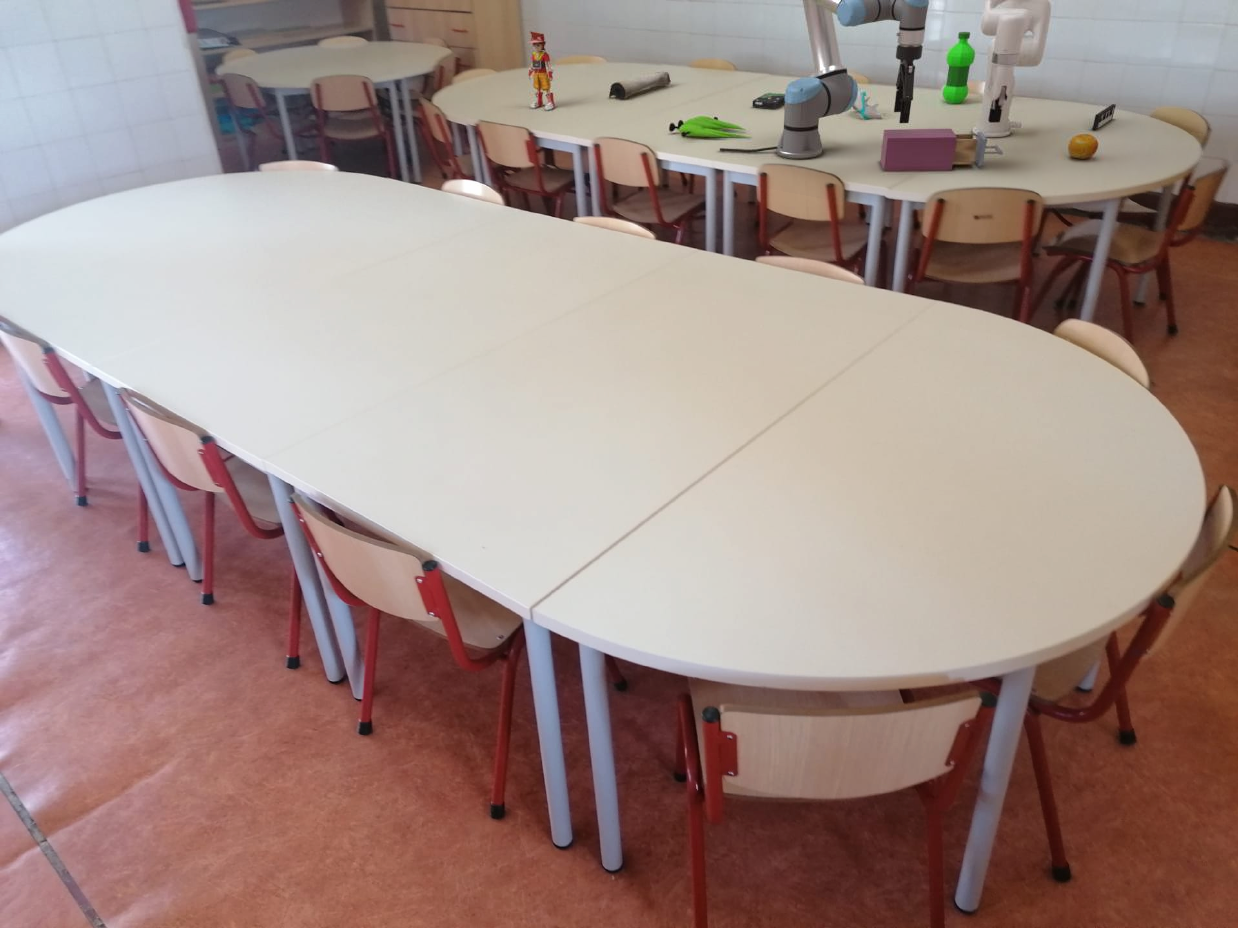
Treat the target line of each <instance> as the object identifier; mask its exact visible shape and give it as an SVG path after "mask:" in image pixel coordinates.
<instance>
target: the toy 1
mask: <svg viewBox="0 0 1238 928" xmlns="http://www.w3.org/2000/svg"><path fill="white" fill-rule="evenodd" d="M529 33H530V35H531V36H528V37H527V38H528V39H529V40H528V41H527V43H529V44H530V43H531V44H532V48H533V50H534V51H533V52H532V55H531V58H530V59H531V63H530V66H528V74H527V75H528V76H527V77H528V79H529V80H531V75H532V74H533V84H532V85H533V86H532V87H533V88H534V89H535V90H536V92H534V95H535V97H536V100H535V101H533V102H531V105H530V108H531V109H535V108H538V107H542V106H544V101H543V100H544V99H543V95H544V92H546V94H545V97H546V99H547V103H546V104H545V106H544V110H546V111H549V110H553V109H554V107H555V106H556V105H555V99H554V92H551V91H550V90H551V86H552V84H551V82H552V81H553V80H554V77H553V73H554V71H555V70H554V69H552V68H551V63H550V61H551V59H550V58H551V57H550V54H549V53H548V52H547V50H546V48H545V46H546V44H547V41H545V35H544V33H543V32H542V33H539V32H535V31H529Z"/></svg>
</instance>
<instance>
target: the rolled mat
mask: <svg viewBox="0 0 1238 928" xmlns="http://www.w3.org/2000/svg"><path fill="white" fill-rule="evenodd" d="M671 83H672V81H671V77H670V74H669V72H668V71H658V72H654V73H649V74H645V75H640V76H637V77H633V78H628V79H623V80H620V81H616V82H613V83H612V84H611V85H610V89H609V95H608V97H609V98H611V97H616V99H620V100H622V101H623V100H626V99H627V98H629V97H630V96H632V95H635V94H636V93H638V92H640V91H643V90H644V89H647V88H650V87H655V86H658V87H659V86H661V87H665V86H669V85H670V84H671Z"/></svg>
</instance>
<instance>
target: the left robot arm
mask: <svg viewBox="0 0 1238 928" xmlns="http://www.w3.org/2000/svg"><path fill="white" fill-rule="evenodd" d="M802 5H803V11H804V15H805V21H806V26H807V32H808V37H809V42H810V49H811V53H812V58H813V65H814V70H815V72H814V74H813V76H812V77H805V78H803V77H802V78H798V79H795V80H791V82H789V83H788V84H787V86H786V87H785V93H784V94H785V104H784V111H783V113H784V115H783V129H782V133H781V136H780V139H779V141H778V144H777V146H769V147H762V148H755V149H743V148H723V147H720V148H719V152H735V153H759V152H765V151H773V150H774V151H775V150H776V154H777V155H778V156H779V157H782V158H785V159H790V160H791V159H792V160H806V159H813V158H817V157H819V156H821V155H822V154H823V144H822V140H821V134H820V131H819V123H820V119H823V118H825V117H830V116H834V115H836V116H837V115H841V114H843V113H846V112H848V111H850V110H851V109H853V105H854V103H855V101H856V99H857V95H858V89H859V86H858V82H857V80H856V78H854V77H853V76H852V75H850V74H849V73H848V68H847V67H846V66H844V65H843V64H842V62H841V55H840V50H839V44H838V39H837V34H836V28H835V22H834V21H835V20H834V16H833V14H834V15H836V18H837V20H838V21H839V24H840V25H841V26H843V27H858V26H861V25H866V24H872V23H877V22H882V21H883V22H884V21H896V22H899V26H898V29H899V30H898V32H896V34H895V35H896V37H897V44H898V45H897V46H896V51H895V59H897V60H900V61H899V62H900V63H899V69H898V73H897V77H896V83H895V86H896V87H895V88H896V91H895V97H894V98H895V100H894V108H893V113H899V122H898V123H899V124H909V123H910V122H909V121H910V117H911V116H910V115H911V107H912V102H913V101H914V89H915V88H914V87H915V86H914V85H915V72H916V71H915V70H916V65H914V61H917V60H920V59H921V58H922V56H923V44H924V41H925V34H926V23H927V17H928V16H927V15H928V10H929V5H930V0H802Z"/></svg>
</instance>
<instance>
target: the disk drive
mask: <svg viewBox="0 0 1238 928" xmlns="http://www.w3.org/2000/svg"><path fill="white" fill-rule="evenodd" d="M785 94H786V93H773V92H767V93H764V94H763V95H761V96H759V97H757V98H754V99H753V100H752V108H753V107H754V108H760V109H772V110H774V109H777V108H779V107H781V106H783V105H785Z"/></svg>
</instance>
